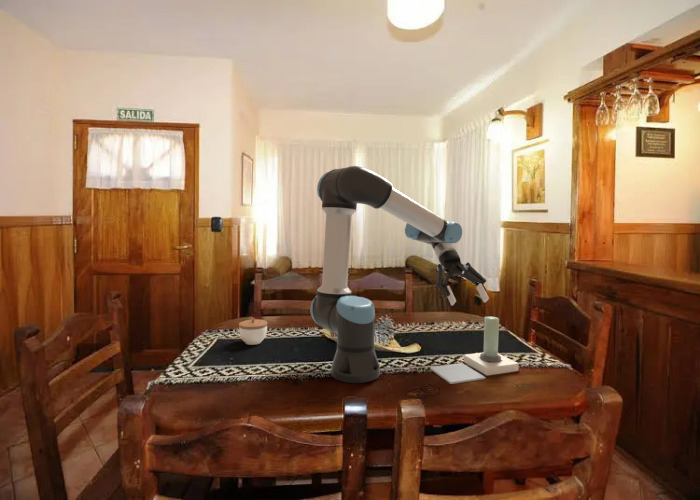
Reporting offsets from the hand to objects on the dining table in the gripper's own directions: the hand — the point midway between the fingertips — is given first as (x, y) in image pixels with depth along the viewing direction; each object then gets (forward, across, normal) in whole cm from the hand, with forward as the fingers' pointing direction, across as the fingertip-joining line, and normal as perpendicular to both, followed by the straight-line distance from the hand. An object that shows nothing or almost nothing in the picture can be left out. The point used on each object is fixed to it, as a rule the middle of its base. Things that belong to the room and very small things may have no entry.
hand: (470, 301), depth 136 cm
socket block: (+22, 0, -5) cm, 22 cm away
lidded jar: (-14, +72, -40) cm, 83 cm away
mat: (+23, +14, -4) cm, 27 cm away
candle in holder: (+22, 0, -5) cm, 22 cm away
